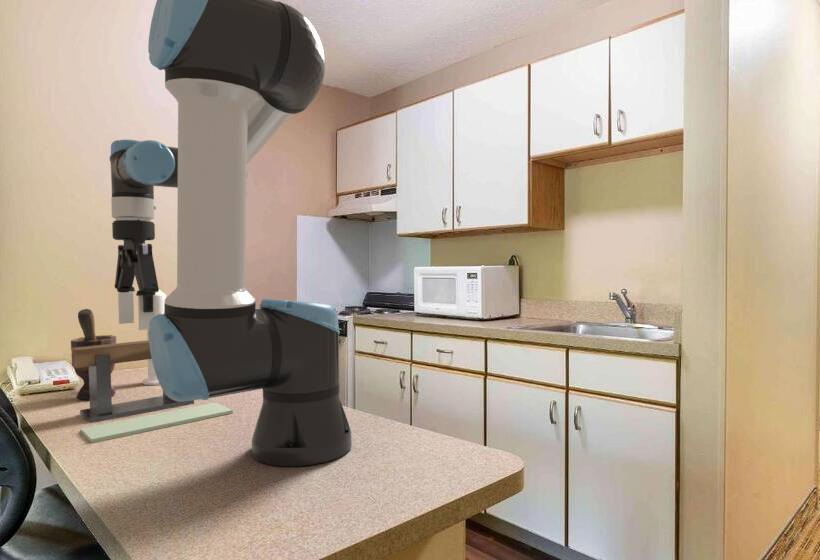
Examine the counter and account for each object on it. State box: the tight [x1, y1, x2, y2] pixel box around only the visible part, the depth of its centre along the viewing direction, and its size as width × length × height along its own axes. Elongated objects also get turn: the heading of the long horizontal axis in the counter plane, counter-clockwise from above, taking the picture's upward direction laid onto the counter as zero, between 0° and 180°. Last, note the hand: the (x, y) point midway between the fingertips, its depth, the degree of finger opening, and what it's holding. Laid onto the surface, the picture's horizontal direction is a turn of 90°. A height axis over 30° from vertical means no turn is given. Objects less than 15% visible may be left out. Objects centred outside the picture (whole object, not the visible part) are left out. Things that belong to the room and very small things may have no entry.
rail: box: [71, 339, 152, 368], centre depth 106 cm, size 3×22×3 cm, turn 133°
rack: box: [79, 354, 195, 424], centre depth 106 cm, size 8×19×12 cm, turn 133°
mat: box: [79, 402, 234, 444], centre depth 97 cm, size 8×24×1 cm, turn 133°
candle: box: [142, 288, 167, 386], centre depth 130 cm, size 7×7×25 cm
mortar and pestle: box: [70, 308, 117, 401], centre depth 115 cm, size 12×9×20 cm
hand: (136, 326), depth 106 cm, fingers open, 13 cm apart
